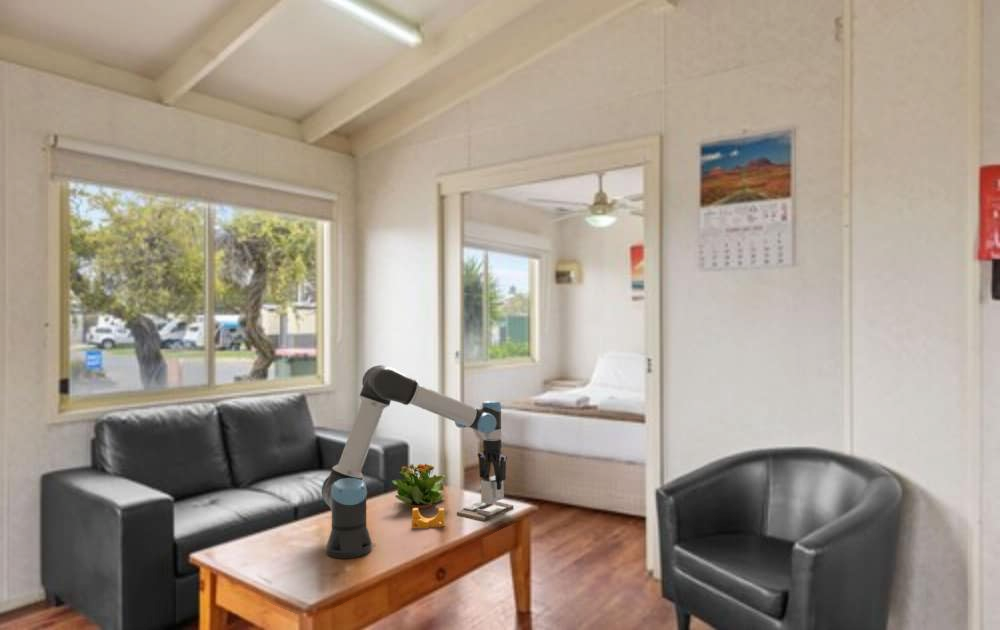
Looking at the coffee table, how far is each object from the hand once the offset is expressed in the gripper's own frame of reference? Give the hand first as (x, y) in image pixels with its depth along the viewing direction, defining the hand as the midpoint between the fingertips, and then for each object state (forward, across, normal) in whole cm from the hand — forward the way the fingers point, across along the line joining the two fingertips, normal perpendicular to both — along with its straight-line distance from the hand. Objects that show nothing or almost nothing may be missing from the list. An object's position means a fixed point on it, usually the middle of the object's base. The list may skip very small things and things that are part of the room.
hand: (492, 496), depth 249 cm
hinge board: (+7, -4, 0) cm, 8 cm away
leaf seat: (+6, 0, 0) cm, 6 cm away
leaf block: (+2, 0, 0) cm, 2 cm away
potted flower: (+7, -31, -10) cm, 34 cm away
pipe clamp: (+7, -11, -27) cm, 30 cm away
